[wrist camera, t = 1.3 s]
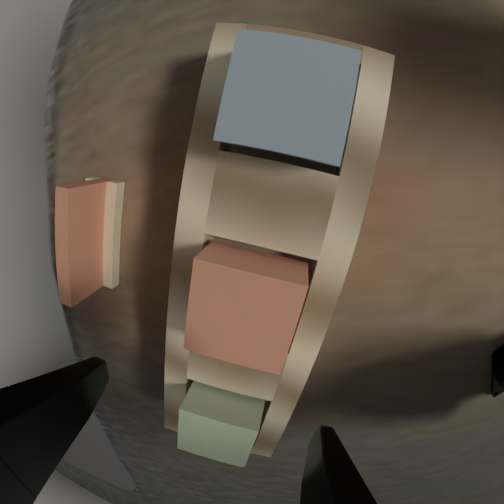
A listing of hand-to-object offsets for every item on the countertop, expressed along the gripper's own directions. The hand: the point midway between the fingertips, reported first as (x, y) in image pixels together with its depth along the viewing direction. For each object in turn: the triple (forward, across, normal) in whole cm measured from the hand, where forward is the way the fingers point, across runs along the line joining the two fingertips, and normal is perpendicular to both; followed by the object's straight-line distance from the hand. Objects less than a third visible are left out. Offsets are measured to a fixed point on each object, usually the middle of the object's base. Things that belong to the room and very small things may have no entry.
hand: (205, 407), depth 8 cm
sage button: (+8, 0, +10) cm, 13 cm away
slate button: (+8, 0, -10) cm, 13 cm away
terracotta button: (+8, 0, 0) cm, 9 cm away
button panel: (+12, 0, 0) cm, 12 cm away
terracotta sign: (+12, +12, 0) cm, 17 cm away
